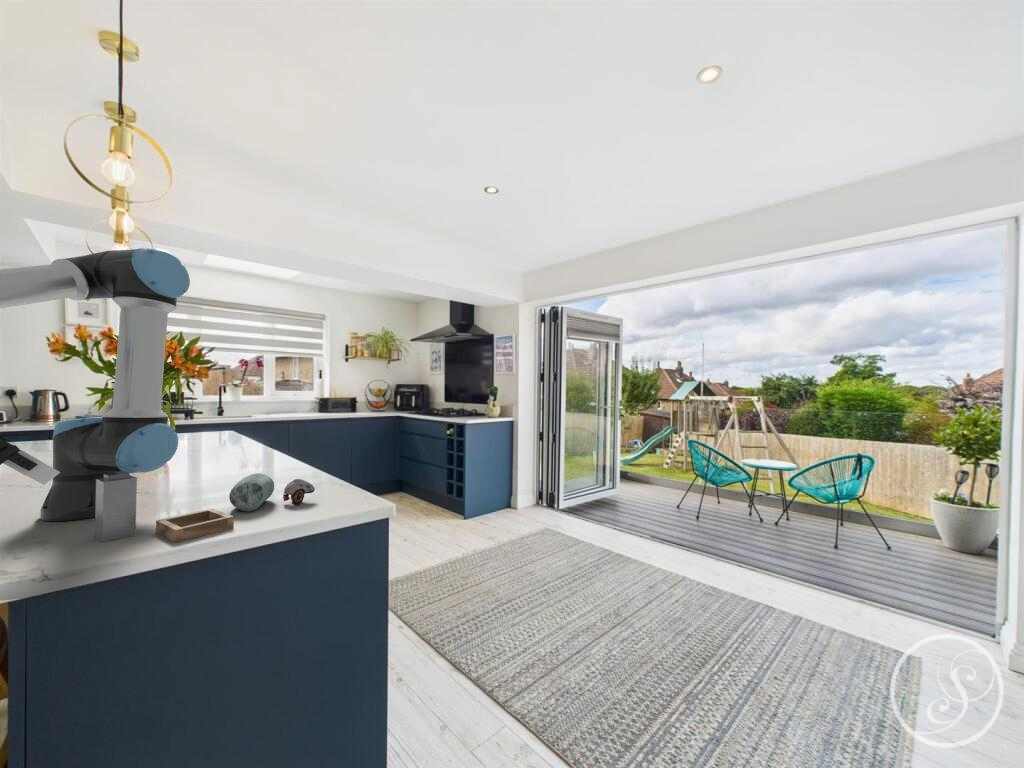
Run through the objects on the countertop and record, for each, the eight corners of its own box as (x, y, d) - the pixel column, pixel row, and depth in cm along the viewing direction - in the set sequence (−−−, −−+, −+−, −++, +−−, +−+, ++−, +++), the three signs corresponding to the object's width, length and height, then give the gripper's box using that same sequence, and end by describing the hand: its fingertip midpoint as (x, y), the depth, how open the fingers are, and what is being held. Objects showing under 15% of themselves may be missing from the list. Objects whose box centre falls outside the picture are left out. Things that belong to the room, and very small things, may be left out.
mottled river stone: (268, 500, 100) (252, 464, 101) (228, 520, 97) (212, 483, 99) (288, 499, 113) (274, 467, 114) (253, 517, 110) (239, 484, 112)
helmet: (282, 502, 109) (283, 478, 110) (313, 498, 114) (314, 475, 114) (284, 507, 105) (284, 482, 105) (316, 503, 109) (316, 479, 109)
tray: (155, 532, 86) (156, 520, 86) (212, 519, 95) (212, 508, 95) (175, 542, 81) (176, 530, 81) (233, 527, 90) (233, 516, 90)
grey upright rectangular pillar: (94, 537, 83) (96, 474, 83) (127, 530, 87) (128, 470, 87) (102, 542, 80) (103, 477, 81) (135, 535, 85) (136, 473, 85)
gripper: (-138, 408, 67) (4, 482, 79) (-132, 414, 54) (36, 501, 66) (-80, 376, 71) (46, 451, 84) (-62, 376, 58) (83, 464, 71)
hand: (42, 473), depth 75 cm, fingers open, 13 cm apart
